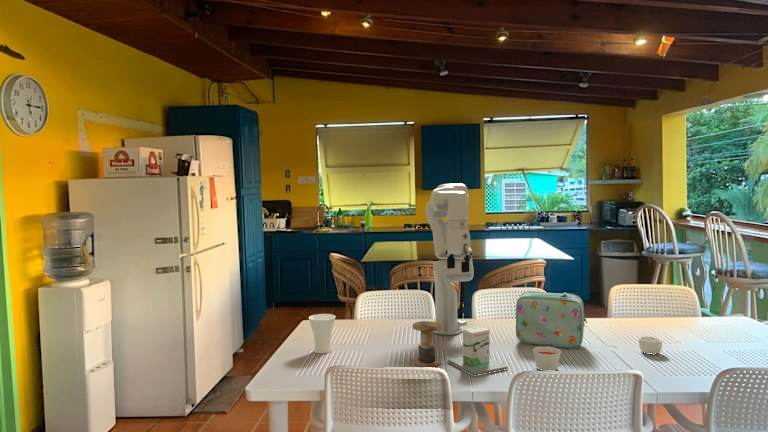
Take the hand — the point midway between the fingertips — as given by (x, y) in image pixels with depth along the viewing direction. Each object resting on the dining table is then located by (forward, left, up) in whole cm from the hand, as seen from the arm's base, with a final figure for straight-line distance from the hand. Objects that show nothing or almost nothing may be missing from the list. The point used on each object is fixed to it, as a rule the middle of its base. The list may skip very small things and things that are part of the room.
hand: (458, 270), depth 200 cm
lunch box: (-39, +7, -32) cm, 51 cm away
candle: (-18, +28, -32) cm, 46 cm away
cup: (+45, -27, -32) cm, 62 cm away
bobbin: (+16, +4, -32) cm, 36 cm away
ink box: (+2, +15, -31) cm, 34 cm away
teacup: (-64, +32, -32) cm, 78 cm away
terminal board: (+2, +15, -32) cm, 35 cm away
